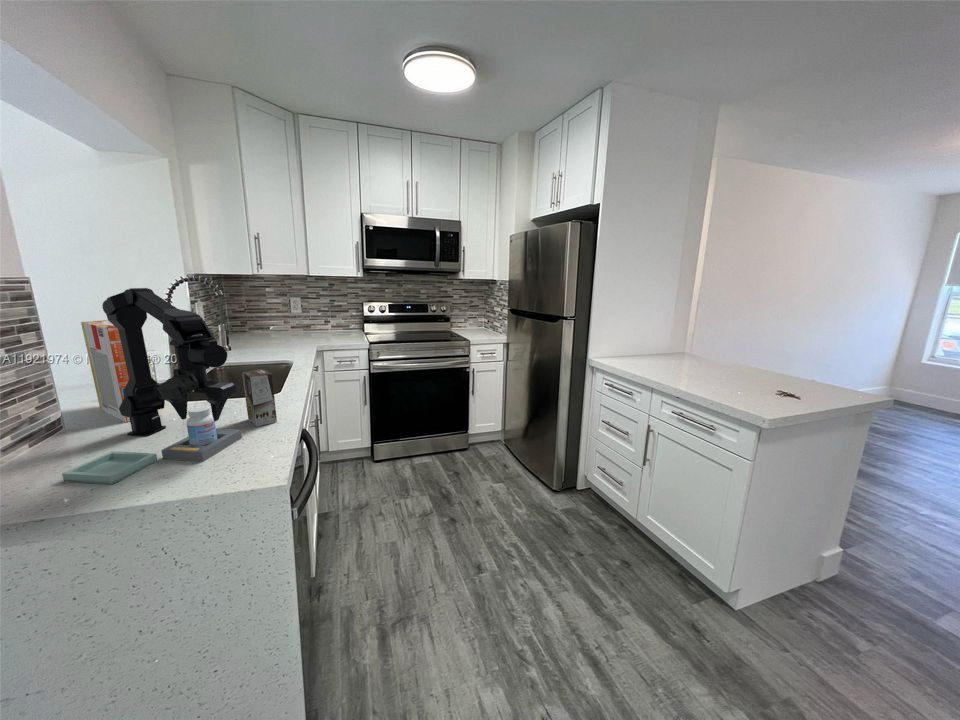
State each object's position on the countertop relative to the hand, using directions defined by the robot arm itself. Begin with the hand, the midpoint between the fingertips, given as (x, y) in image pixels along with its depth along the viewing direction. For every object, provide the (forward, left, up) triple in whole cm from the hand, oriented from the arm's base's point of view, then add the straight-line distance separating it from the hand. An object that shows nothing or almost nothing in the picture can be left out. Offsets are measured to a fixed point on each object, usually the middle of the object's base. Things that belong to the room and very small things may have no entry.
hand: (200, 419), depth 101 cm
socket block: (0, 0, -8) cm, 8 cm away
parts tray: (-12, -14, -8) cm, 20 cm away
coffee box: (+3, +20, -8) cm, 22 cm away
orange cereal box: (-46, +22, -8) cm, 52 cm away
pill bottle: (0, 0, -8) cm, 8 cm away
